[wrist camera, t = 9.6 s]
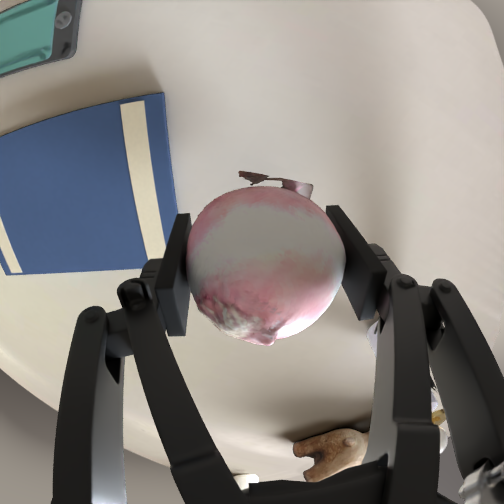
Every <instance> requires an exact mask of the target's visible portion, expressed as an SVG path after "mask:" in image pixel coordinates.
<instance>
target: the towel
mask: <svg viewBox="0 0 504 504" xmlns="http://www.w3.org/2000/svg"><path fill="white" fill-rule="evenodd" d="M177 214H178V210H177V203H176V196H175V189H174V182H173V174H172V166H171V158H170V149H169V140H168V130H167V120H166V109H165V97H164V92H162V93H155V94H149V95H143V96H138V97H132V98H127V99H122V100H117V101H113V102H108V103H104V104H99V105H95V106H91V107H87V108H84V109H80V110H76V111H73V112H69V113H66V114H62V115H59V116H56V117H53V118H49V119H46V120H43V121H40V122H37V123H35V124H32V125H29V126H26V127H24V128H21V129H18V130H16V131H13V132H11V133H8V134H6V135H3V136H1V137H0V263H1V266H2V268H3V270H4V272H5V274H6V275H26V274H47V273H67V272H87V271H106V270H124V269H141V268H143V266H144V265H145V264H146V263H147V261H148V260H149V259H156V258H163V256H164V253H165V249H166V246H167V243H168V240H169V236H170V233H171V230H172V227H173V224H174V221H175V218H176V215H177Z"/></svg>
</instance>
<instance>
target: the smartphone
mask: <svg viewBox="0 0 504 504" xmlns="http://www.w3.org/2000/svg"><path fill="white" fill-rule="evenodd" d="M81 5H82V0H28V1H26V2H23V3H20V4H17V5H15V6H13V7H11V8H8V9H6V10H4V11H3V12H1V13H0V78H1V77H4V76H7V75H10V74H13V73H16V72H19V71H22V70H25V69H29V68H32V67H36V66H39V65H43V64H47V63H51V62H55V61H59V60H64V59H68V58H71V57H73V55H74V54H75V52H76V47H77V36H78V27H79V19H80V12H81Z"/></svg>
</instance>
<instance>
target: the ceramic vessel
mask: <svg viewBox="0 0 504 504" xmlns="http://www.w3.org/2000/svg"><path fill="white" fill-rule="evenodd" d="M369 432H370V431H369ZM369 432H366V433H363V434H362V433H360V432H358V431H356V430H353V429H348V428H344V429H337V430H334V431H331V432H328V433H325V434H323V435H319V436H314V437H311V438H308V439H306V440H303V441H300V442H297V443H294V444H293V453H294V455H295V456H296V457H299V458H302V457H305V456H307V457H311V458H314V464H315V465H314V466H313V467H311V468H310V469H308V470H306V471H304V472H303V475H304V478H305V480H306V481H307V482H318V481H321V480H323V479H325V478H328V477H330V476H332V475H334V474H336V473H338V472H340V471H342V470H344V469H346V468H349V467H353V466H357V465H361V464H362V460H363V458H364V456H365V454H366V450H367V446H368V439H369Z"/></svg>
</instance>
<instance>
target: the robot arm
mask: <svg viewBox="0 0 504 504" xmlns="http://www.w3.org/2000/svg"><path fill="white" fill-rule="evenodd" d="M326 215H327V216H328V218H329V219H330V220H331V222H332V223H333V225H334V227H335V229H336V231H337V232H338V234H339V236H340V238H341V240H342V243H343V245H344V249H345V253H346V265H345V270H344V275H343V279H342V282H341V284H342V286H343V288H344V290H345V292H346V294H347V296H348V298H349V301H350V303H351V305H352V307H353V309H354V311H355V313H356V316H357V318H358V320H359V321H360V320H367V319H373V318H374V315H375V312H376V309H377V311H378V313H379V315H380V317H379V319H378V322H377V325H376V328H375V331H374V334H376V332H377V355H376V373H375V386H374V397H373V407H372V416H371V424H370V432H369V439H368V446H367V450H366V454H365V456H364V458H363V460H362V464H361V465H357V466H353V467H349V468H346V469H344V470H342V471H340V472H338V473H336V474H334V475H332V476H330V477H328V478H325V479H323V480H321V481H318V482H302V481H289V480H276V481H266V482H254V483H248V484H249V488H246V489H243V490H241V489H240V487H239V486H238V484H237V482H236V480H235V479H234V477H233V475H232V473H231V472H230V470H229V468H228V466H227V465H226V463H225V461H224V459H223V457H222V456H221V454H220V452H219V451H218V449H217V447H216V446H215V444H214V442H213V440H212V438H211V436H210V434H209V432H208V430H207V428H206V426H205V424H204V422H203V420H202V418H201V416H200V414H199V412H198V409H197V407H196V405H195V403H194V401H193V399H192V397H191V394H190V392H189V390H188V388H187V385H186V383H185V381H184V379H183V376H182V374H181V372H180V369H179V367H178V364H177V362H176V360H175V357H174V355H173V352H172V350H171V347H170V345H169V342H168V340H167V337H166V334H165V331H166V330H167V333H168V336H185V334H186V325H187V316H188V308H189V300H190V292H191V290H190V288H189V284H188V280H187V272H186V262H185V261H186V259H185V258H186V253H187V243H188V238H189V234H190V231H191V228H192V225H191V218H190V213H184V214H177V215H176V218H175V221H174V224H173V227H172V230H171V233H170V236H169V240H168V243H167V246H166V249H165V253H164V256H163V258H156V259H149V260H148V261H147V263H146V264H145V265H144V266H143V269H142V273H141V275H140V278H133V279H129V280H126V281H124V282H123V283H122V284H120V286H119V287H118V289H117V295H118V297H119V300H120V303H121V305H122V308H121V309H119V310H116V311H112V312H109V313H106V312H105V310H104V309H103V308H102V307H99V306H92V307H88V308H87V309H85V310H83V311H82V312H81V313H80V315H79V317H78V319H77V323H76V326H75V330H74V334H73V338H72V342H71V347H70V351H69V356H68V360H67V365H66V370H65V375H64V380H63V386H62V392H61V398H60V405H59V412H58V420H57V428H56V438H55V449H54V464H53V466H54V467H53V498H52V501H51V504H127V498H126V487H125V486H126V485H125V471H124V451H123V386H124V365H125V356H129V355H133V354H134V358H135V362H136V365H137V369H138V372H139V376H140V379H141V383H142V386H143V389H144V393H145V396H146V399H147V402H148V405H149V408H150V411H151V414H152V417H153V420H154V422H155V425H156V428H157V431H158V433H159V436H160V439H161V441H162V444H163V447H164V449H165V452H166V454H167V457H168V459H169V462H170V465H171V466H170V469H171V473H172V476H173V478H174V480H175V483H176V485H177V487H178V489H179V491H180V494H181V496H182V498H183V500H184V502H185V504H457V503H455V502H453V501H452V500H450V499H448V498H447V497H445V496H443V495H441V494H440V493H438V492H437V488H438V477H439V462H440V461H439V460H440V429H439V427H438V425H436V424H433V422H432V405H431V382H430V368H429V364H430V367H431V370H432V373H433V376H434V379H435V382H436V385H437V389H438V392H439V395H440V398H441V402H442V405H443V409H444V412H445V416H446V419H447V423H448V427H449V431H450V435H451V439H452V443H453V448H454V452H455V456H456V460H457V464H458V467H459V470H460V472H461V475H462V477H463V479H464V483H463V486H461V488H460V489H459V496H460V498H462V499H465V500H464V501H465V502H464V504H504V377H503V375H502V373H501V371H500V368H499V366H498V364H497V362H496V360H495V358H494V355H493V354H492V351H491V349H490V347H489V345H488V343H487V341H486V339H485V337H484V335H483V334H482V332H481V330H480V328H479V326H478V324H477V322H476V320H475V319H474V317H473V315H472V313H471V312H470V310H469V308H468V306H467V305H466V303H465V301H464V300H463V298H462V296H461V295H460V293H459V291H458V290H457V288H456V287H455V285H454V284H453V283H451V282H450V281H448V280H446V279H440V278H439V279H436V280H434V281H433V284H432V286H431V287H428V286H420V285H418V284H417V282H416V280H415V279H414V278H412V277H410V276H409V275H405V274H401V273H400V271H399V270H398V268H397V267H396V266H395V264H394V263H393V262H392V260H390V258H389V256H387V254H386V252H385V251H384V250H383V249H382V248H381V247H379V246H378V245H376V244H368V243H367V242H366V240H365V239H364V238H363V236H362V235H361V234H360V232H359V231H358V230H357V228H356V227H355V226H354V225H353V223H352V222H351V221H350V219H349V218H348V217H347V215H346V214H345V213H344V212H343V210H342V209H341V208H340V207H339V205H331V206H326ZM443 322H444V325H445V328H444V326H443V324H442V323H443Z"/></svg>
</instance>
